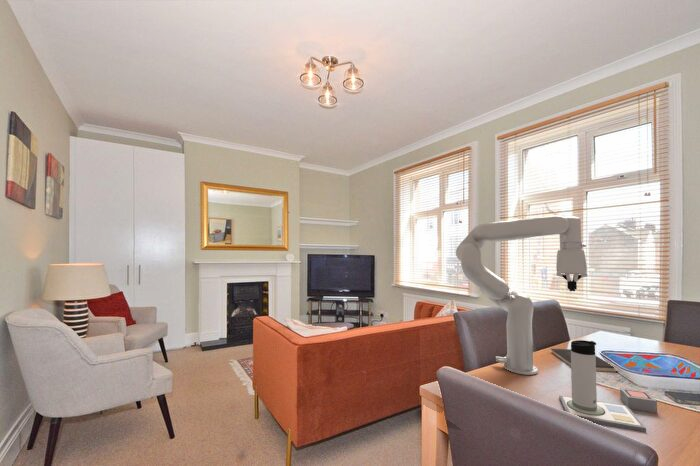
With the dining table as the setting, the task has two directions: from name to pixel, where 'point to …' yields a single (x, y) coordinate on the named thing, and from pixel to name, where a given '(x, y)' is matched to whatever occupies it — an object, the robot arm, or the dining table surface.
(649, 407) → the button housing
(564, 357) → the hardcover book
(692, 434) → the dining table surface
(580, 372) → the travel mug
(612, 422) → the picture board
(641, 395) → the button
